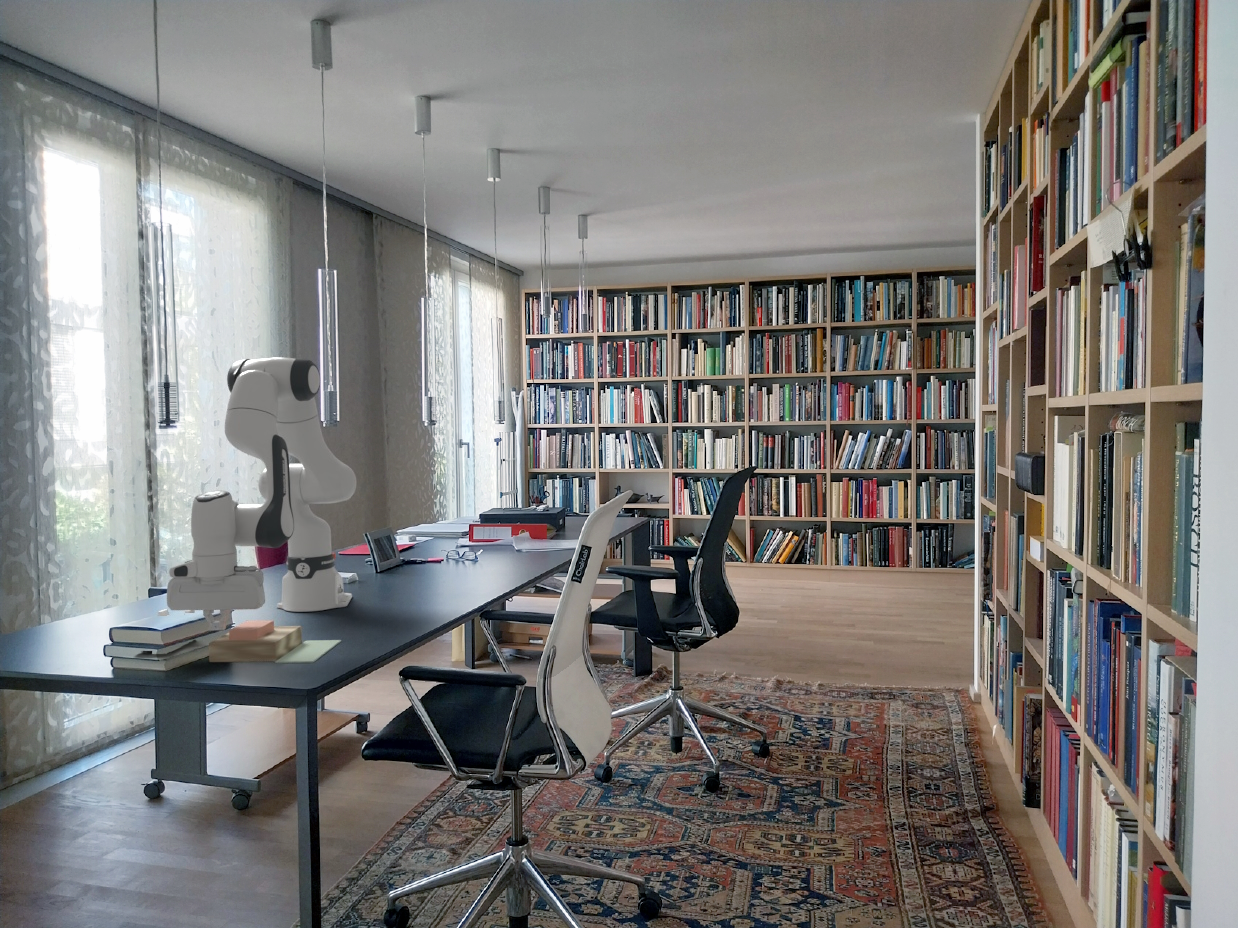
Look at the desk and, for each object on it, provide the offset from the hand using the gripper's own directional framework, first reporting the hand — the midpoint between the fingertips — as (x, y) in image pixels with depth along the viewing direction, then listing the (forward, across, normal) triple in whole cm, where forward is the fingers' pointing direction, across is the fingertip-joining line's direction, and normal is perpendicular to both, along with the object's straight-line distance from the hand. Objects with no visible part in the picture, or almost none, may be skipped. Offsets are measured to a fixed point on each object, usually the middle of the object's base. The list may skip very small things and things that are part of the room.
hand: (217, 629), depth 196 cm
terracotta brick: (+1, -8, 0) cm, 8 cm away
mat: (+5, -20, 0) cm, 21 cm away
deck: (+5, -8, 0) cm, 10 cm away
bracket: (+6, +14, -6) cm, 17 cm away
